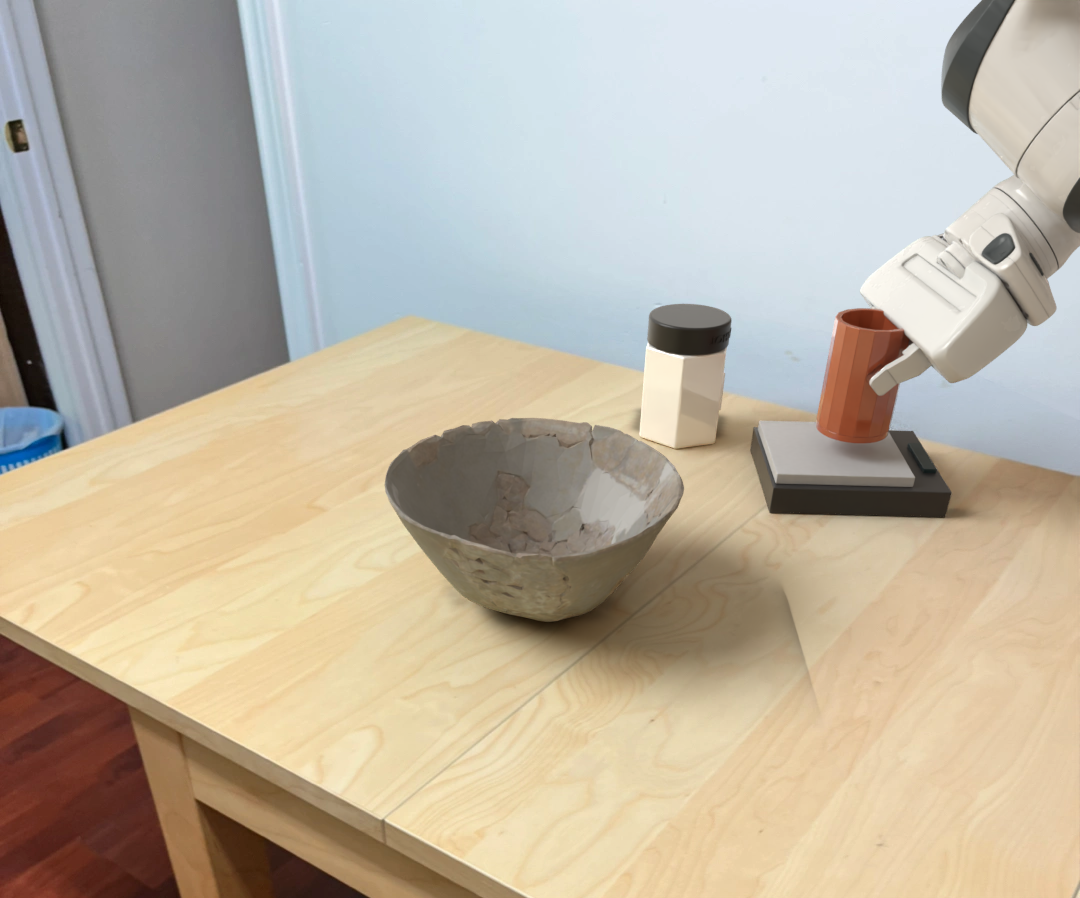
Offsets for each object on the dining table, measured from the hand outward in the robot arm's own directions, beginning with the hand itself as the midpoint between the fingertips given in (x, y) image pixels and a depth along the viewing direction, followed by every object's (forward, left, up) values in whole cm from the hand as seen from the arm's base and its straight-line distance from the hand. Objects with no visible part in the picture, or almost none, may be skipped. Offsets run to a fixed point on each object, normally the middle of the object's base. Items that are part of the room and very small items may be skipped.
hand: (857, 372), depth 94 cm
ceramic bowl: (+28, +22, -11) cm, 37 cm away
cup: (-1, 0, -5) cm, 5 cm away
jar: (+14, -11, -11) cm, 21 cm away
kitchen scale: (-1, 0, -11) cm, 11 cm away
